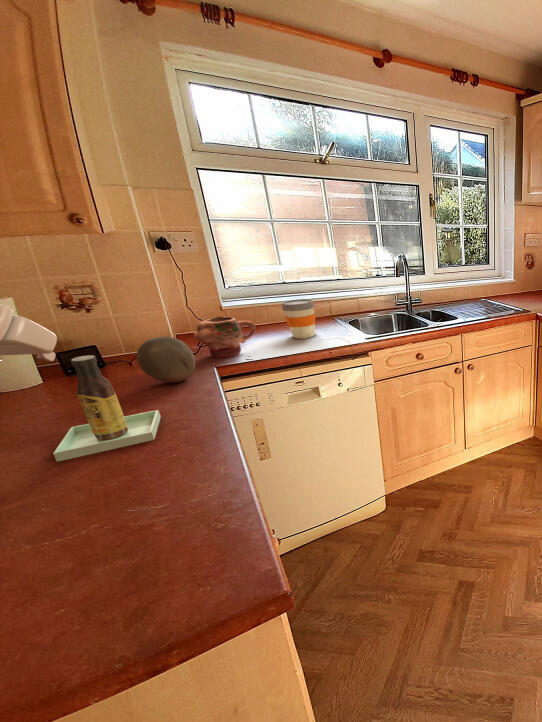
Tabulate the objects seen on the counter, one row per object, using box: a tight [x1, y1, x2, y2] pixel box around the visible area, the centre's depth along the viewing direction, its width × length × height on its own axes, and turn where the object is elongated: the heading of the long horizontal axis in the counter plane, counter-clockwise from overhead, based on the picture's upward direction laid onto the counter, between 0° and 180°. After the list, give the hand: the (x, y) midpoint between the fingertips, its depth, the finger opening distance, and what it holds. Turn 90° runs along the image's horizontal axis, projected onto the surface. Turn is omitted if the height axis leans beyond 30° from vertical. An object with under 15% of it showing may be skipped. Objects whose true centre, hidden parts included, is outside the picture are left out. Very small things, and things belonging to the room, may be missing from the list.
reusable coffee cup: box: [281, 298, 316, 339], centre depth 186 cm, size 13×13×15 cm
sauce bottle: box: [70, 354, 128, 440], centre depth 99 cm, size 7×6×20 cm
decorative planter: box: [193, 316, 256, 358], centre depth 162 cm, size 20×12×14 cm, turn 133°
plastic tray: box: [52, 409, 162, 463], centre depth 102 cm, size 17×15×2 cm
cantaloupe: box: [136, 336, 196, 384], centre depth 134 cm, size 14×14×15 cm
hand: (24, 359), depth 83 cm, fingers open, 8 cm apart
